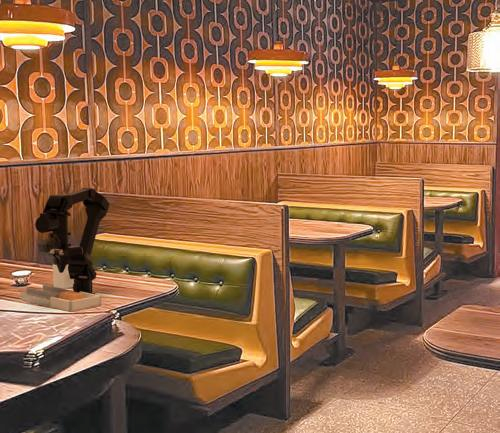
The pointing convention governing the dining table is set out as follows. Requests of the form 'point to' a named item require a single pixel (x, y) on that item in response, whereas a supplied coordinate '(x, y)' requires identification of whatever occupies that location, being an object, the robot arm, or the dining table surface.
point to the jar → (61, 277)
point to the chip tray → (76, 302)
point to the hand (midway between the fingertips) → (61, 272)
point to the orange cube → (75, 296)
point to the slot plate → (42, 294)
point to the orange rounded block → (65, 294)
